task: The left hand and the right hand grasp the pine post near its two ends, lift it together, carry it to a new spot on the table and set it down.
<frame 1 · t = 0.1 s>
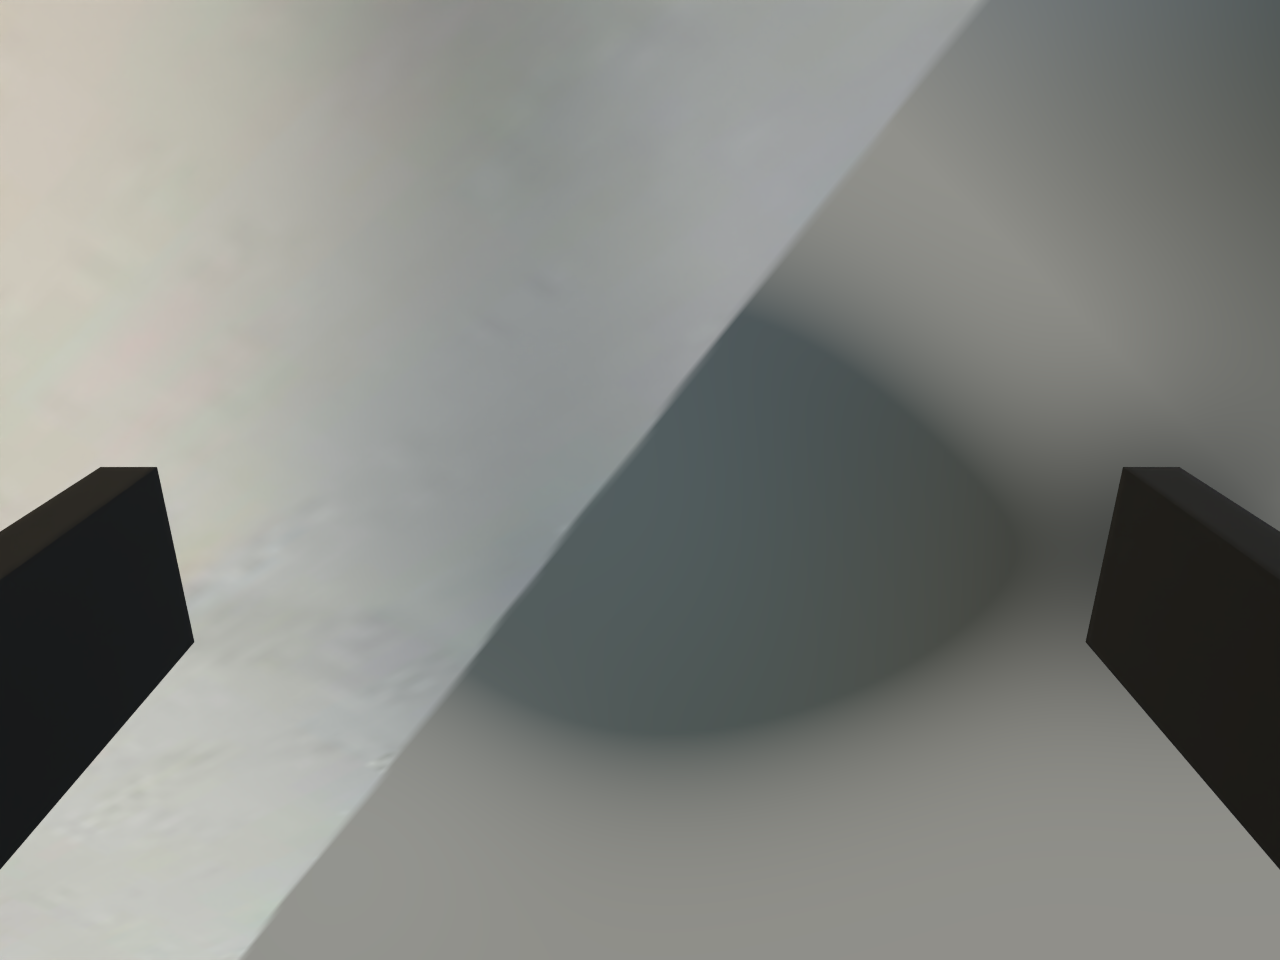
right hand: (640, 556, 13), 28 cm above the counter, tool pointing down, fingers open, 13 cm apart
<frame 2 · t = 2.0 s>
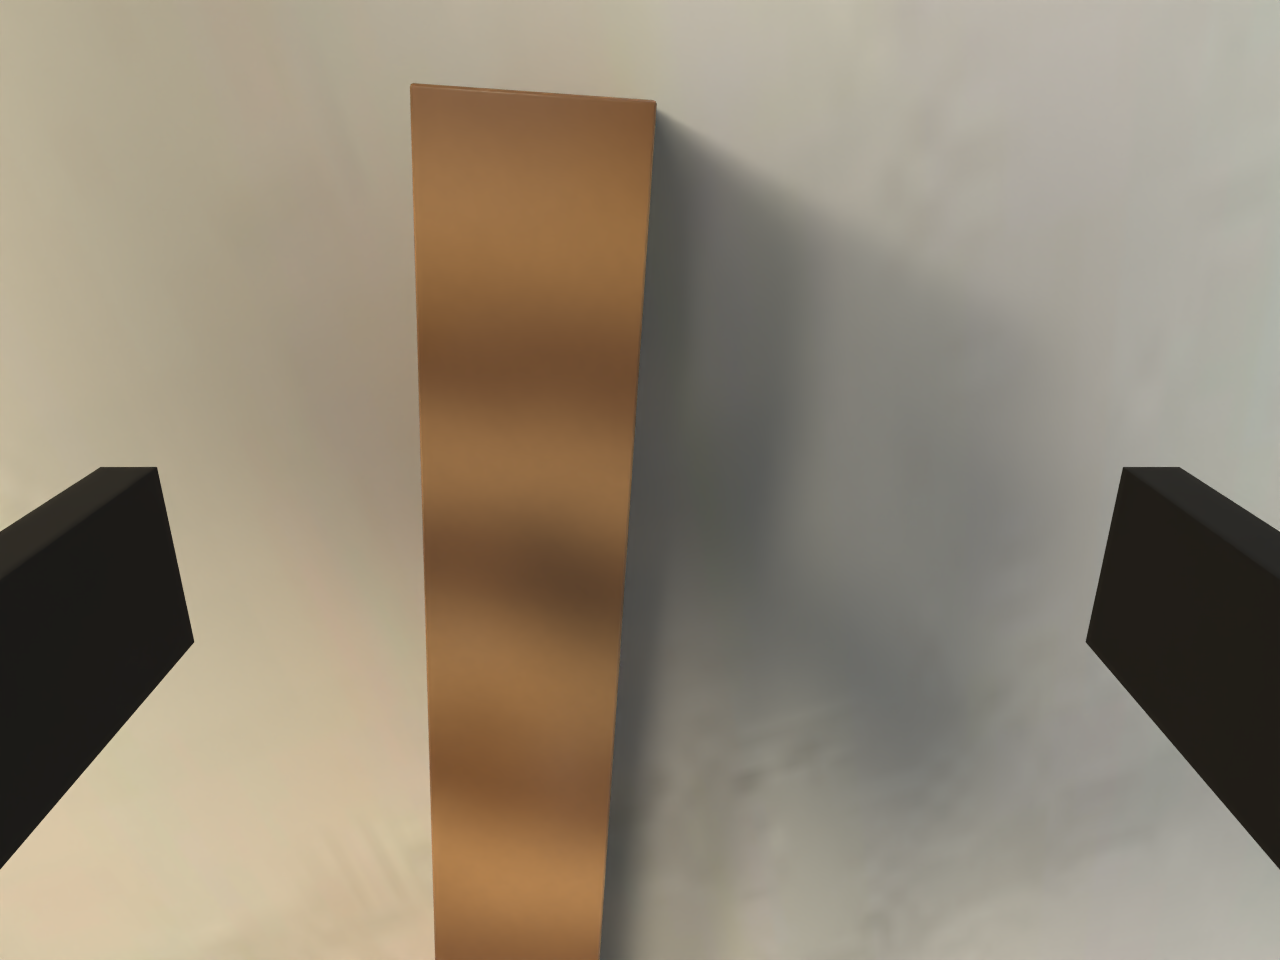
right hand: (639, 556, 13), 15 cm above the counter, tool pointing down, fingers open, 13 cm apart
post: (541, 865, 35), on the counter
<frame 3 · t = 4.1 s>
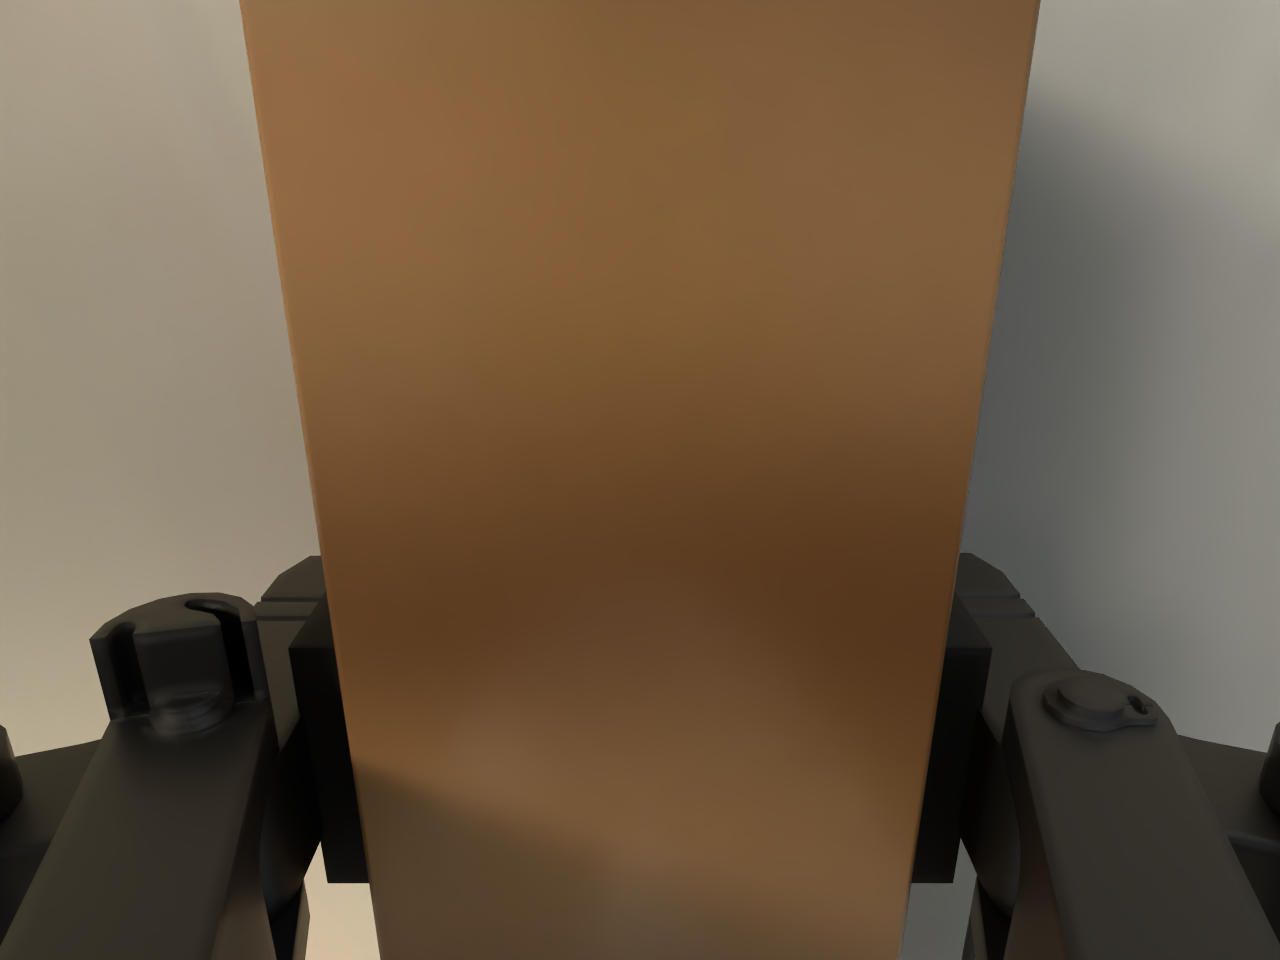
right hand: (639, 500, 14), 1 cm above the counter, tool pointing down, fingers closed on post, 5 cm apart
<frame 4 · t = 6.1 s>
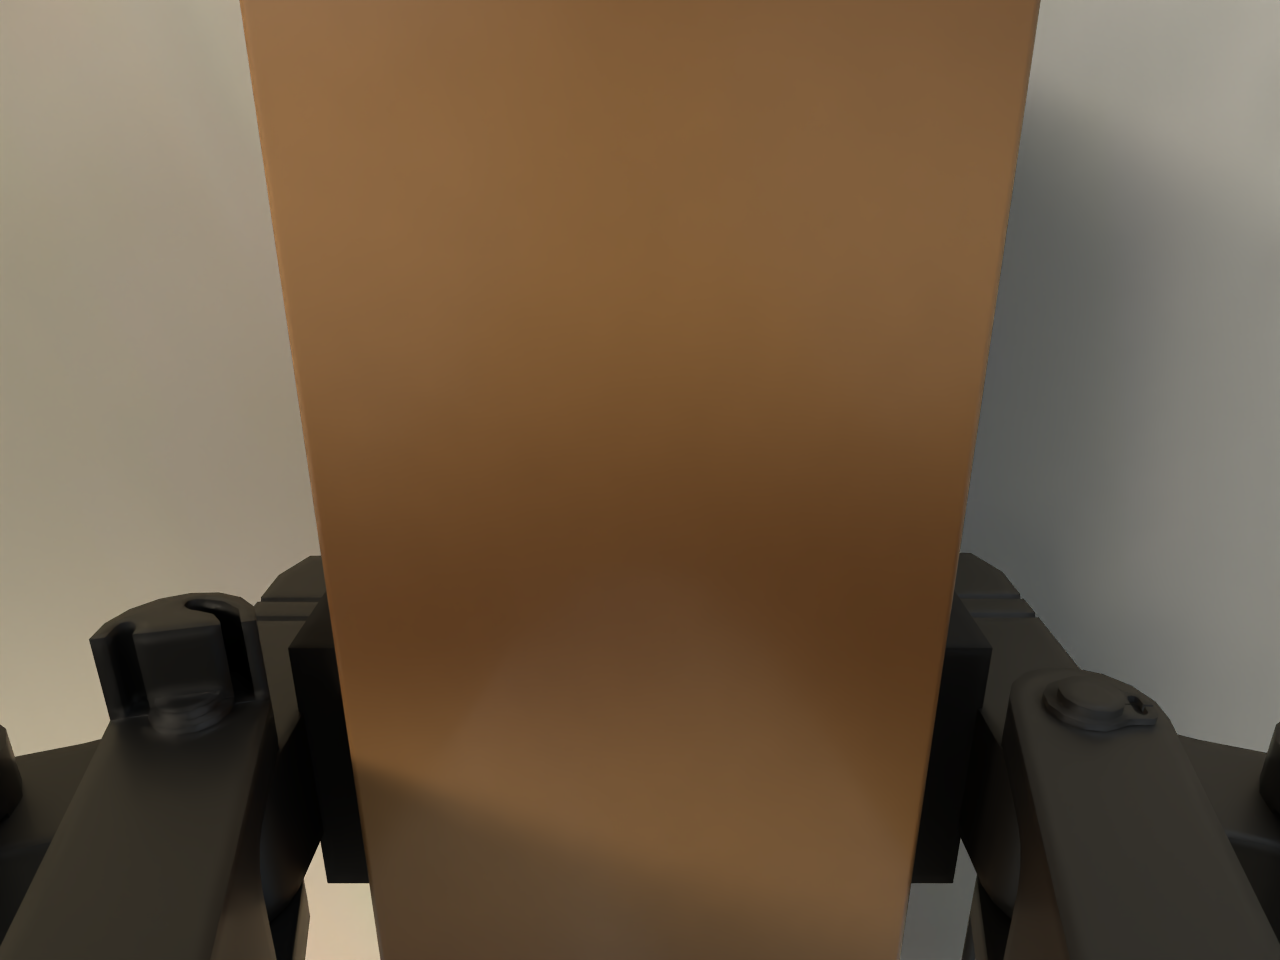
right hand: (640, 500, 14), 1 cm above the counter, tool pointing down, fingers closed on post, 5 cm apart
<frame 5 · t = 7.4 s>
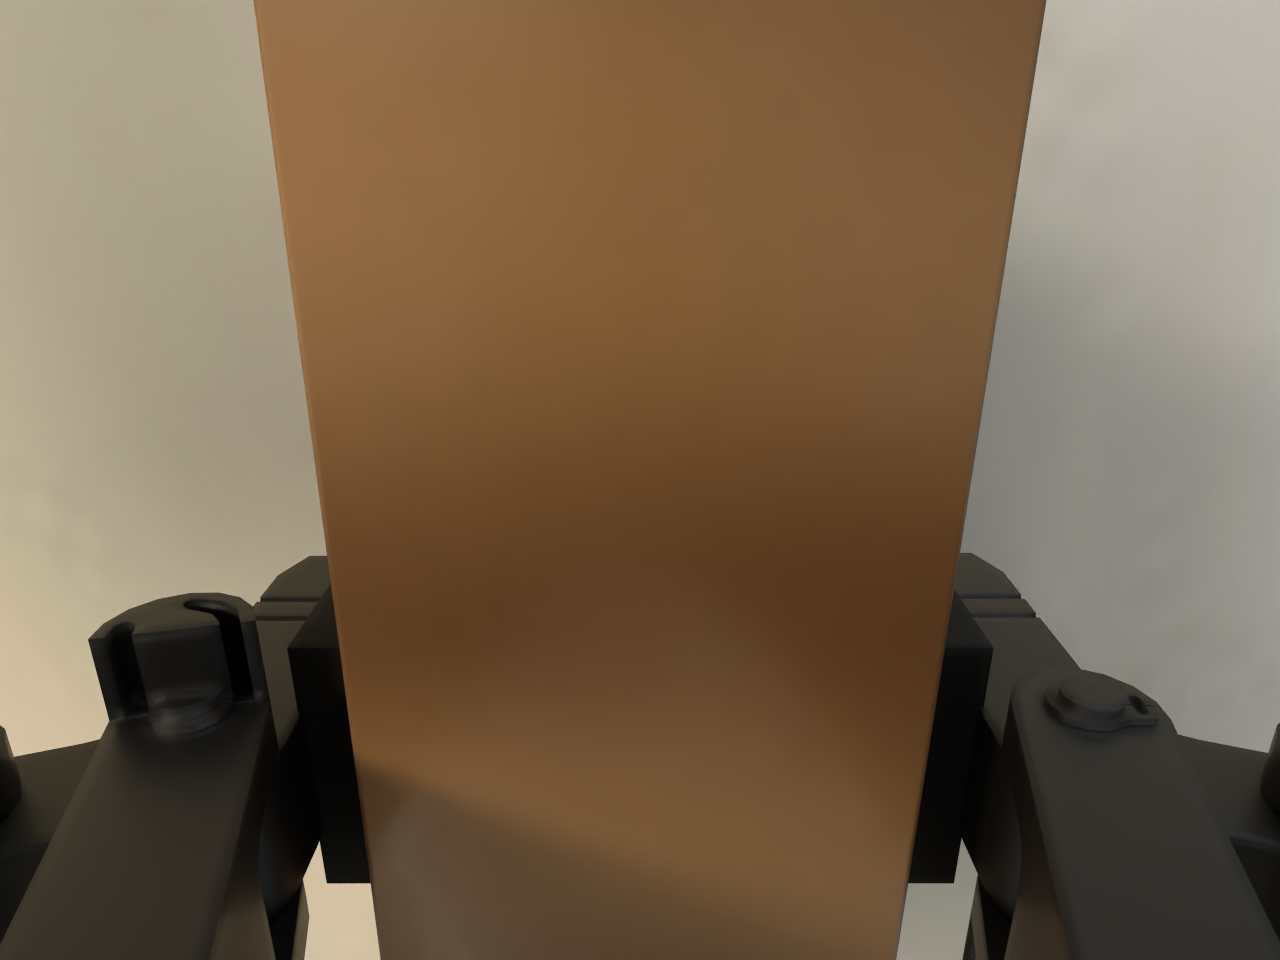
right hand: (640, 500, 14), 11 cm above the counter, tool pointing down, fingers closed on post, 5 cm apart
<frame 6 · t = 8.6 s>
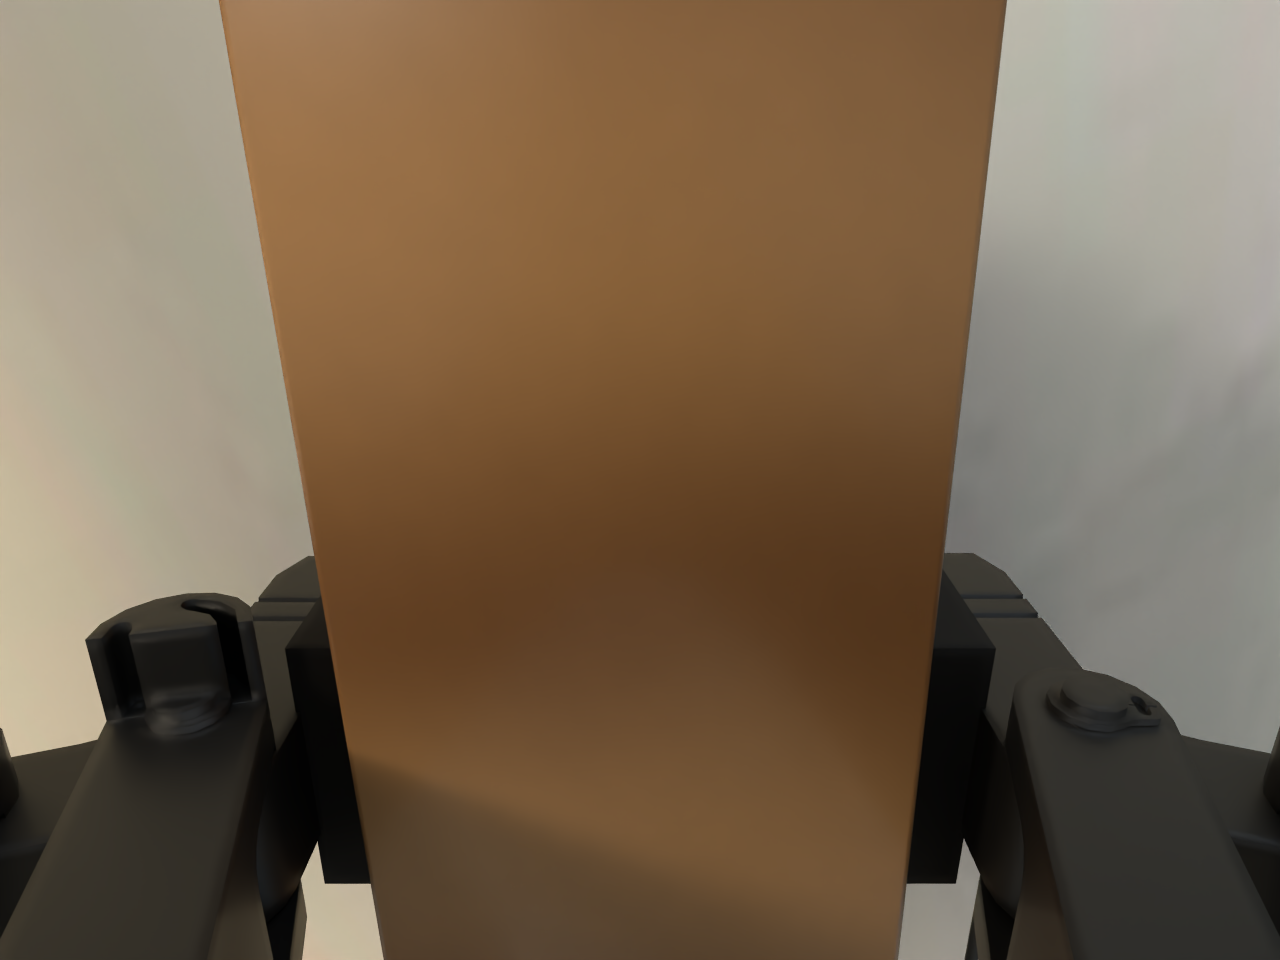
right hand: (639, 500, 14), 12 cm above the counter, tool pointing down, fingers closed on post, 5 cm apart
when the left hand's fingers open (4 cm above the counter, at t = 11.1 s): post drops 1 cm, on the counter.
when the right hand's fingers open (2 cm above the counter, at t = 11.1 s): post drops 1 cm, on the counter.
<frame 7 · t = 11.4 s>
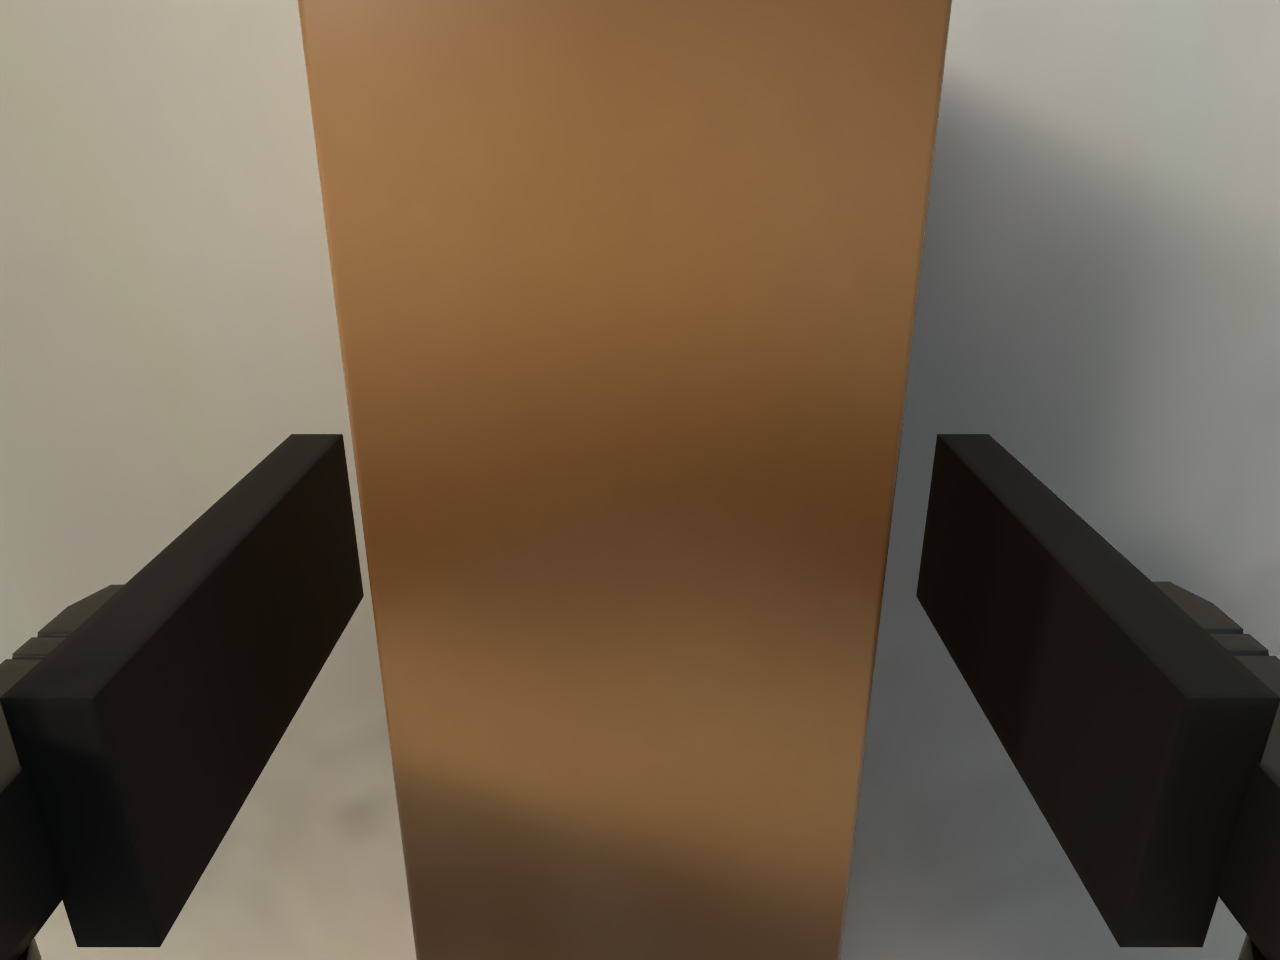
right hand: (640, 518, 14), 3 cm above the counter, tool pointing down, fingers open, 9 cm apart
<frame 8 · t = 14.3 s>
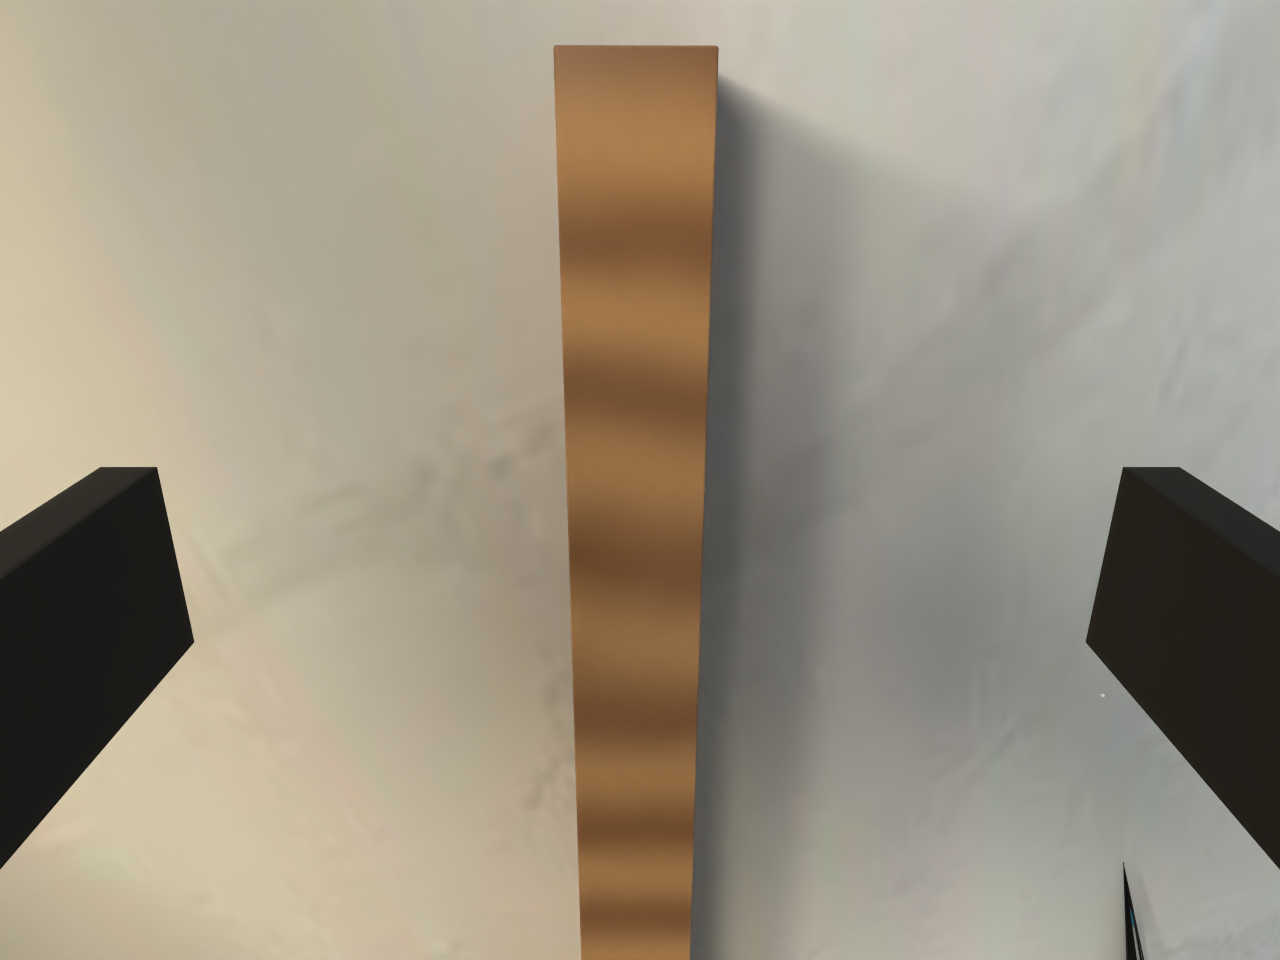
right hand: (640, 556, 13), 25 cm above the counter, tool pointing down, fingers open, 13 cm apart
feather: (1122, 901, 48), on the counter
post: (636, 691, 43), on the counter
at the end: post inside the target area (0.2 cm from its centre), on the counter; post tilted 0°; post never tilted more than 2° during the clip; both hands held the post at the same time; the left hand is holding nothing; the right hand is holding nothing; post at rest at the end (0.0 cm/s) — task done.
